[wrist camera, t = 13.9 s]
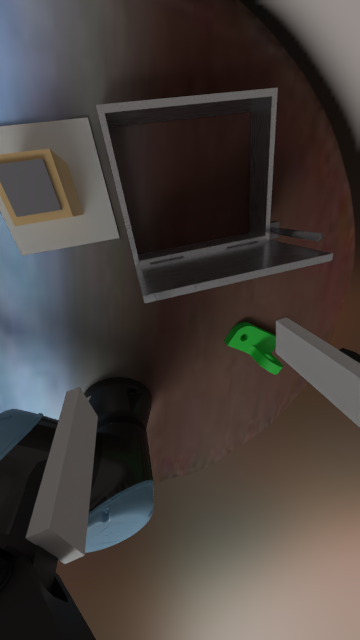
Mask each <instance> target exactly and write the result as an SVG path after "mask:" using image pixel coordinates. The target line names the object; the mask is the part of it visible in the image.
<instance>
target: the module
mask: <svg viewBox="0 0 360 640" xmlns="http://www.w3.org/2000/svg"><path fill="white" fill-rule="evenodd" d="M0 197H1V199H2V201H3V203H4V205H5V207H6V209H7V211H8V213H9V216H10V218H11V220H12V222H13V224H14V226H20V225H26V224H32V223H38V222H44V221H50V220H56V219H62V218H68V217H74V216H79V215H84V214H83V211H82V208H81V205H80V202H79V199H78V195H77V192H76V189H75V186H74V183H73V180H72V177H71V174H70V171H69V168H68V165H67V163H66V162H65V161H64V160H62V159H61V158H60V157H59V156H58V155H56V154H55V153H54V152H53V151H52V150H50V149H41V150H33V151H24V152H16V153H8V154H0Z"/></svg>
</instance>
